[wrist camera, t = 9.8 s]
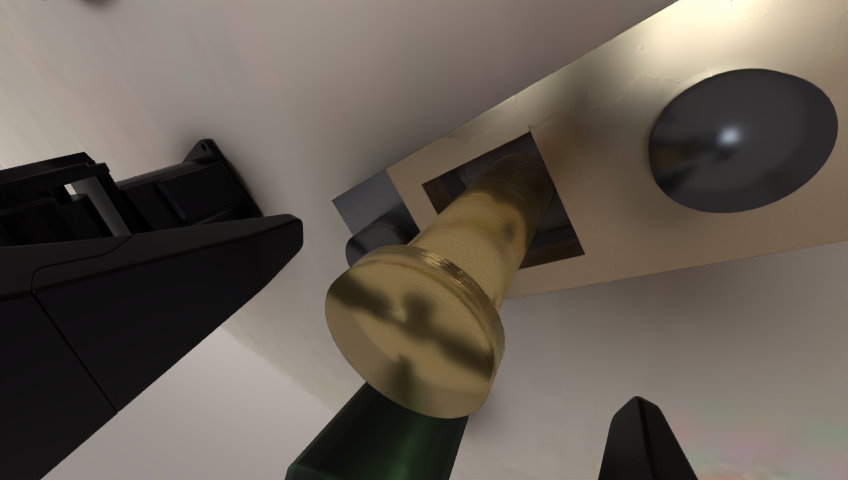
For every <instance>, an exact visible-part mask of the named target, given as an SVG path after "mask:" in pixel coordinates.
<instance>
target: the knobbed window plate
mask: <svg viewBox="0 0 848 480" xmlns="http://www.w3.org/2000/svg"><path fill="white" fill-rule="evenodd" d="M530 131H531V134H532V136H533V138H534V140H535V143H536V145H537V147H538V149H539V152H540V154H541V156H542V158H543V161H544V163H545V165H546V167H547V170H548V172H549V174H550V176H551V179H552V181H553V183H554V185H555V187H556V190H557V192H558V194H559V196H560V199H561V201H562V203H563V205H564V208H565V210H566V212H567V214H568V217H569V219H570V221H571V223H572V225H568V226H565V227H561V228H558V229H554V230H551V231H547V232H544V233H540V234H537V235H534V237H533V239H532V241H531V243H530V245H529V248H528V250H527V252H526V254H525V256H524V258H523V260H522V262H521V264H520V267H519V269H518V271H517V273H516V275H515V277H514V279H513V281H512V283H511V286H510V288H509V290H508V292H507V294H506V296H505V298H504V300H505V299H511V298H517V297H522V296H528V295H534V294H540V293H545V292H551V291H557V290H563V289H569V288H574V287H580V286H586V285H592V284H598V283H603V282H609V281H615V280H621V279H626V278H632V277H638V276H644V275H650V274H655V273H661V272H667V271H673V270H678V269H684V268H690V267H696V266H702V265H707V264H713V263H719V262H725V261H731V260H736V259H742V258H748V257H754V256H759V255H765V254H771V253H777V252H783V251H788V250H794V249H800V248H806V247H811V246H817V245H823V244H829V243H835V242H840V241H846V240H848V0H679V1H677V2H675V3H674V4H672V5H670V6H668V7H667V8H665V9H663V10H661V11H660V12H658V13H656V14H655V15H653V16H651V17H649V18H648V19H646V20H644V21H642V22H641V23H639V24H637V25H635V26H634V27H632V28H630V29H628V30H627V31H625V32H623V33H621V34H620V35H618V36H616V37H614V38H613V39H611V40H609V41H608V42H606V43H604V44H602V45H601V46H599V47H597V48H595V49H594V50H592V51H590V52H588V53H587V54H585V55H583V56H581V57H580V58H578V59H576V60H574V61H573V62H571V63H569V64H567V65H566V66H564V67H562V68H561V69H559V70H557V71H555V72H554V73H552V74H550V75H548V76H547V77H545V78H543V79H541V80H540V81H538V82H536V83H534V84H533V85H531V86H529V87H527V88H526V89H524V90H522V91H520V92H519V93H517V94H515V95H514V96H512V97H510V98H508V99H507V100H505V101H503V102H501V103H500V104H498V105H496V106H494V107H493V108H491V109H489V110H487V111H486V112H484V113H482V114H480V115H479V116H477V117H475V118H473V119H472V120H470V121H468V122H466V123H465V124H463V125H461V126H460V127H458V128H456V129H454V130H453V131H451V132H449V133H447V134H446V135H444V136H442V137H440V138H439V139H437V140H435V141H433V142H432V143H430V144H428V145H426V146H425V147H423V148H421V149H419V150H418V151H416V152H414V153H413V154H411V155H409V156H407V157H406V158H404V159H402V160H400V161H399V162H397V163H395V164H393V165H392V166H390V167H388V168H386V169H385V170H384V171H382V172H380V173H378V174H377V175H375V176H373V177H371V178H370V179H368V180H366V181H364V182H363V183H361V184H359V185H357V186H356V187H354V188H352V189H350V190H349V191H347V192H345V193H343V194H342V195H340V196H338V197H336V198H335V199H333V200H332V202H333V203H334V205H335V206H336V208H337V210H338V211H339V213H340V215H341V216H342V218H343V219H344V221H345V223H346V224H347V226H348V227H349V229H350V231H351V232H352V234H353V237H351V238H350V239H349V241H348V242H347V245H346V258H347V262H348V264H349V266H350V267H352V266H353V265H354V264H355V263H356V262H358V261H359V260H360V259H361V258H362V257H363V256H365V255H366V254H367V253H369V252H370V251H372V250H374V249H376V248H379V247H383V246H387V245H407V244H409V243H410V242H411V241H412V240H413V239H414V238H415V237H416V236H417V235H418V234H419V233H420V232H421V231H422V230H423V229H424V228H425V227H426V226H427V225H429V224H430V223H431V222H432V221H433V220H434V219H435V218H436V217H437V216H438V215H439V214H440V213H441V212H442V211H443V210H444V209H445V208H446V207H447V206H449V205H450V204H451V203H452V202H453V201H454V200H455V199H456V198H457V197H458V196H459V195H460V194H461V193H462V192H463V191H464V190H465V188H464V186H463V184H462V182H461V180H460V178H459V176H458V174H457V172H456V170H455V168H456V167H458V166H460V165H462V164H464V163H466V162H468V161H470V160H473V159H475V158H477V157H479V156H481V155H483V154H485V153H487V152H489V151H491V150H493V149H495V148H497V147H499V146H501V145H503V144H505V143H507V142H509V141H512V140H514V139H516V138H518V137H520V136H522V135H524V134H526V133H528V132H530Z"/></svg>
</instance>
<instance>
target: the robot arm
mask: <svg viewBox="0 0 848 480" xmlns="http://www.w3.org/2000/svg"><path fill="white" fill-rule="evenodd" d="M109 172H110V170H109V168H108V167H107V165H106V163H105V162H104V163H97V164H96V163H95V161H94V160H92V159H91V158H90V157H89V156H88V155H87V154H86V153H85V152H81V153H76V154H72V155H67V156H62V157H58V158H53V159H49V160H44V161H39V162H35V163H30V164H26V165H22V166H17V167H13V168H8V169H4V170H0V480H40V479H42V478H43V477H44V476H45V475H46V474H47V473H48V472H50V471H51V470H52V469H53V468H54V467H56V466H57V465H58V464H59V463H60V462H61V461H63V460H64V459H65V458H66V457H67V456H68V455H70V454H71V453H72V452H73V451H74V450H75V449H77V448H78V447H79V446H80V445H81V444H82V443H84V442H85V441H86V440H87V439H88V438H89V437H91V436H92V435H93V434H94V433H95V432H96V431H98V430H99V429H100V428H101V427H102V426H103V425H104V424H106V423H107V422H108V421H109V420H110V419H111V418H113V417H114V416H115V415H116V414H117V413H118V412H119V411H121V410H122V409H123V408H124V407H125V406H127V405H128V404H129V403H130V402H131V401H132V400H133V399H135V398H136V397H137V396H138V395H139V394H141V393H142V392H143V391H144V390H145V389H146V388H147V387H149V386H150V385H151V384H152V383H153V382H155V381H156V380H157V379H158V378H159V377H160V376H162V375H163V374H164V373H165V372H166V371H167V370H168V369H170V368H171V367H172V366H173V365H174V364H176V363H177V362H178V361H179V360H180V359H181V358H182V357H184V356H185V355H186V354H187V353H188V352H189V351H191V350H192V349H193V348H194V347H195V346H197V345H198V344H199V343H200V342H201V341H202V340H203V339H205V338H206V337H207V336H208V335H209V334H211V333H212V332H213V331H214V330H215V329H216V328H218V327H219V326H220V325H221V324H222V323H223V322H225V321H226V320H227V319H228V318H229V317H230V316H232V315H233V314H234V313H235V312H236V311H237V310H239V309H240V308H241V307H242V306H243V305H244V304H246V303H247V302H248V301H249V300H250V299H251V298H253V297H254V296H255V295H256V294H257V293H258V292H260V291H261V290H262V289H263V288H264V287H265V286H266V285H267V284H268V283H269V282H270V281H271V280H272V279H273V278H274V277H275V276H276V275H277V274H278V273H279V272H280V271H281V270H282V269H283V267H284V266H285V265H286V264H287V263H288V262H289V261H290V260H291V259H292V258H293V257H294V256H295V255H296V254H297V253H298V252H299V251H300V249H301V248H302V246H303V223H302V221H301V220H300V219H299V218H297V217H295V216H293V215H291V214H282V215H274V216H267V217H261V215H260V213H259V211H258V210H257V208H256V207H255V205H254V204H253V202H252V201H251V199H250V198H249V197H248V195H247V194H246V192H245V191H244V189H243V188H242V186H241V185H240V183H239V182H238V180H237V179H236V177H235V176H234V174H233V173H232V172H231V170H230V169H229V167H228V166H227V164H226V163H225V161H224V160H223V158H222V157H221V155H220V154H219V152H218V151H217V150H216V148H215V147H214V145H213V144H212V142H211V141H210V140H209V139H202V140H200V141H199V142H198V143H197V144H196V145H195V147H194V148H193V149H192V151H191V152H190V153H189V154H188V156H187V157H186V158H185V160H184V161H183V162H182V163H180V164H177V165H173V166H170V167H166V168H163V169H159V170H156V171H153V172H149V173H146V174H142V175H139V176H135V177H132V178H128V179H125V180H122V181H118V182H114V180H113V179H112V177H111V175H110V174H109ZM66 184H71V185H72V187H73V189H74V190H75V192H76V193H77V194H75V195H70V194H69V192H68V191H67V189H66V188H65V186H64V185H66ZM598 480H698V478H697V477H696V475H695V473H694V471H693V469H692V467H691V465H690V463H689V462H688V460H687V458H686V456H685V454H684V452H683V450H682V449H681V447H680V445H679V443H678V441H677V439H676V437H675V435H674V434H673V432H672V430H671V428H670V426H669V424H668V422H667V421H666V419H665V417H664V415H663V413H662V411H661V410H660V408H659V407H658V406H657V405H655V404H653V403H652V402H650V401H648V400H646V399H644V398H642V397H640V396H635V397H633V398H632V399H630V400H629V401H628V402H627V403H626V404H625V405H624V406H623V407H622V408H621V409H620V410H619V411H617V412H616V413H615V415H614V416H613V418H612V421H611V424H610V428H609V433H608V437H607V442H606V446H605V451H604V455H603V460H602V464H601V469H600V473H599V478H598Z"/></svg>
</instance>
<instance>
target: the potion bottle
mask: <svg viewBox="0 0 848 480" xmlns="http://www.w3.org/2000/svg"><path fill="white" fill-rule="evenodd" d="M468 417H469V415H466V416H463V417H458V418H438V417H432V416H428V415H424V414H421V413H418V412H415V411H412V410H410V409H408V408H405V407H403V406H401V405H400V404H398V403H396V402H394V401H392V400H391V399H389V398H387V397H386V396H384V395H383V394H382V393H380V392H379V391H377V390H376V389H375V388H374V387H372V386H371V385H370V384H369V383H368V382H367V381H366V382H365V384H364V385H363V386H362V387H361V388H360V389H359V390H358V391H357V392H356V393H355V395H354V396H353V397H352V398H351V399H350V400H349V401H348V402H347V403H346V404H345V406H344V407H343V408H342V409H341V410H340V411H339V412H338V413H337V414H336V415H335V417H334V418H333V419H332V420H331V421H330V422H329V423H328V424H327V425H326V427H325V428H324V429H323V430H322V431H321V432H320V433H319V434H318V435H317V436H316V438H315V439H314V440H313V441H312V442H311V443H310V444H309V445H308V446H307V447H306V449H305V450H304V451H303V452H302V453H301V454H300V455H299V456H298V457H297V458H296V460H295V461H294V462H293V463H292V464H291V465H290V466H289V467H288V470H287V474H286V477H285V480H449V478H450V475H451V471H452V468H453V465H454V462H455V459H456V455H457V452H458V449H459V446H460V443H461V439H462V436H463V433H464V430H465V427H466V423H467V420H468Z"/></svg>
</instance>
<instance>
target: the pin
mask: <svg viewBox="0 0 848 480" xmlns="http://www.w3.org/2000/svg"><path fill="white" fill-rule="evenodd" d="M553 189H554V186H553V181H552V179H551V176H550V174H549V172H548V170H547V167H546V166H545V165H544V164H543V163H542V162H541V161H539V160H538V159H536V158H535V157H532V156H530V155H527V154H521V153H514V154H508V155H505V156H503V157H501V158H499V159H497V160H496V161H495V162H494V163H493V164H492V165H491V166H490V167H489V168H487V169H486V170H485V171H484V172H483V173H482V174H481V175H480V176H479V177H478V178H477V179H476V180H475V181H474V182H473V183H472V184H471V185H470V186H469V187H467V188H466V189H465V190H464V191H463V192H462V193H461V194H460V195H459V196H458V197H457V198H456V199H455V200H454V201H453V202H452V203H451V204H450V205H449V206H447V207H446V208H445V209H444V210H443V211H442V212H441V213H440V214H439V215H438V216H437V217H436V218H435V219H434V220H433V221H432V222H431V223H430V224H429V225H427V226H426V227H425V228H424V229H423V230H422V231H421V232H420V233H419V234H418V235H417V236H416V237H415V238H414V239H413V240H412V241H411V242H410V243H409V244H407V245H387V246H383V247H379V248H376V249H374V250H372V251H370V252H369V253H367V254H366V255H365V256H363V257H362V258H361V259H360V260H359V261H358V262H356V263H355V264H354V265H353V266H352V267H350V268H349V269H348V270H347V271H346V272H344V273H343V274H342V275H341V276H340V277H338V278H337V279H336V280H335V281H334V282H333V284H332V285H331V286H330V288H329V290H328V293H327V296H326V301H325V314H326V319H327V323H328V327H329V330H330V332H331V335H332V337H333V339H334V341H335V343H336V345H337V347H338V348H339V350H340V351H341V353H342V354H343V356H344V357H345V359H346V360H347V361H348V363H349V364H350V365H351V366H352V367H353V368H354V370H355V371H356V372H357V373H358V374H359V375H360V376H361V377H362V378H363V379H364V380H365V381H367V382H368V383H369V384H370V385H371V386H372V387H374V388H375V389H376V390H377V391H379V392H380V393H382V394H383V395H384V396H386V397H387V398H389V399H391V400H392V401H394V402H396V403H398V404H400V405H401V406H403V407H405V408H408V409H410V410H412V411H415V412H418V413H421V414H424V415H428V416H432V417H438V418H458V417H463V416H466V415H469V414H471V413H473V412H475V411H476V410H477V409H479V408H480V407H481V406H482V404H483V403H484V402H485V400H486V398H487V396H488V393H489V391H490V388H491V386H492V383H493V381H494V378H495V375H496V373H497V370H498V368H499V365H500V363H501V360H502V358H503V354H504V349H505V335H504V329H503V325H502V322H501V319H500V317H499V314H498V311H499V309H500V307H501V305H502V302H503V300H504V298H505V296H506V294H507V292H508V290H509V288H510V286H511V283H512V281H513V279H514V277H515V275H516V273H517V271H518V269H519V267H520V264H521V262H522V260H523V258H524V256H525V254H526V252H527V250H528V248H529V245H530V243H531V241H532V239H533V237H534V235H535V233H536V231H537V229H538V226H539V224H540V222H541V220H542V218H543V216H544V214H545V212H546V209H547V207H548V205H549V203H550V201H551V199H552V196H553Z"/></svg>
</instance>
